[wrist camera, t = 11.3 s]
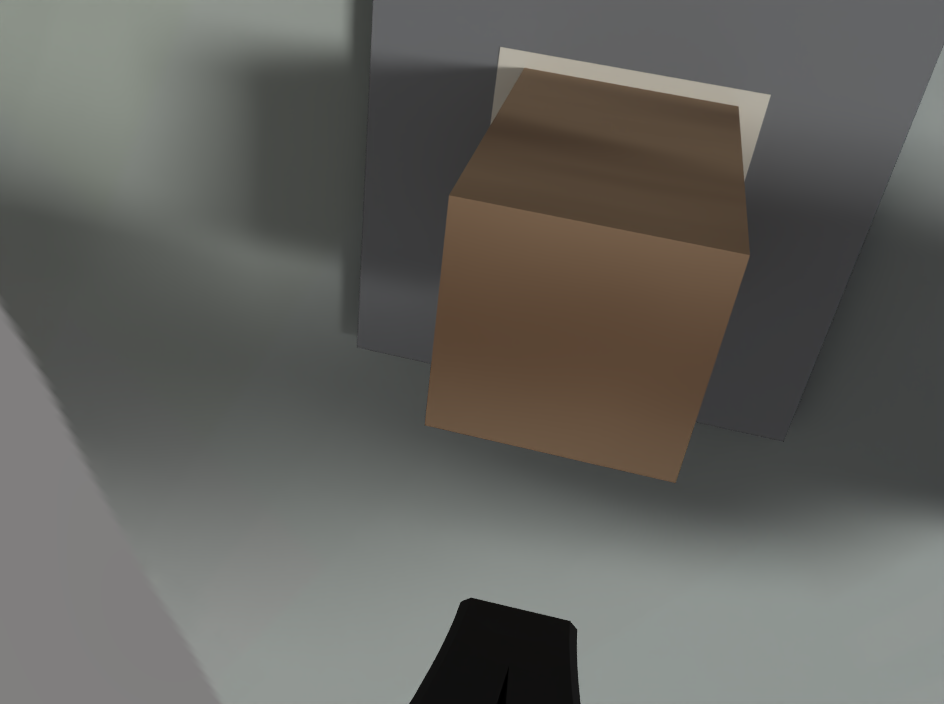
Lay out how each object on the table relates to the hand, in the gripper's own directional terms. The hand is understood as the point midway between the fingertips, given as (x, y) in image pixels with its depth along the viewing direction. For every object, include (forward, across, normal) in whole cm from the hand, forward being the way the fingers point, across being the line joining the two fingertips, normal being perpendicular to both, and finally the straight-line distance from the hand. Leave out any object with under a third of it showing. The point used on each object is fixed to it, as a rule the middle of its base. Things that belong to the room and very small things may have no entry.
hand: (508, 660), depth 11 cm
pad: (+10, 0, -2) cm, 11 cm away
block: (+10, 0, -2) cm, 10 cm away
